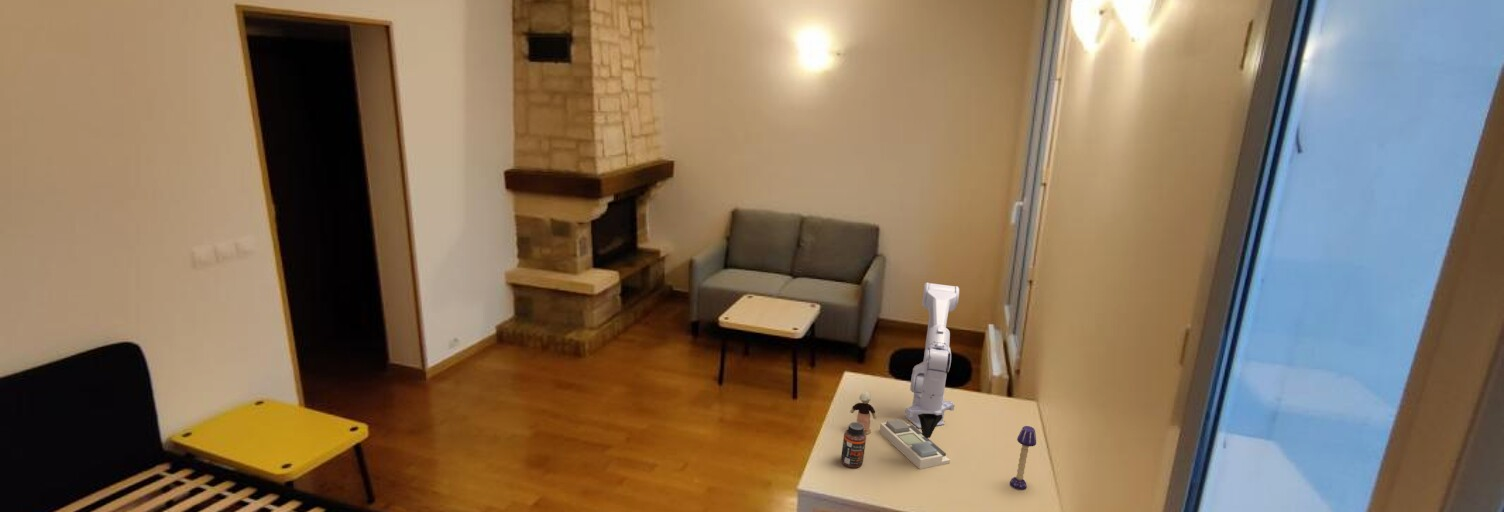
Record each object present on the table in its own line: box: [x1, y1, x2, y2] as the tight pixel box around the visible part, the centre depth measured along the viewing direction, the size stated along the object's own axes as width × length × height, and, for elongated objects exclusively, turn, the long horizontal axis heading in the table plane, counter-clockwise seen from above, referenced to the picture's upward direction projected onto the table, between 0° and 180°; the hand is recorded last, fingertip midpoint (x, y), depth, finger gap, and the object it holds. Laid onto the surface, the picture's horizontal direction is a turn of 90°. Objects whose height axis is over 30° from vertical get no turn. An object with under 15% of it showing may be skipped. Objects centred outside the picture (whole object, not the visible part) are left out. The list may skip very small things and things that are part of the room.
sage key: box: [898, 434, 921, 446], centre depth 200 cm, size 5×5×1 cm
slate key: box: [912, 441, 937, 457], centre depth 194 cm, size 5×5×1 cm
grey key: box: [886, 418, 910, 434], centre depth 206 cm, size 5×5×1 cm
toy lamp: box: [1009, 425, 1037, 490], centre depth 184 cm, size 5×5×17 cm
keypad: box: [879, 421, 951, 470], centre depth 201 cm, size 10×20×3 cm, turn 23°
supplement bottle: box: [840, 421, 867, 469], centre depth 190 cm, size 6×6×11 cm
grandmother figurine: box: [849, 390, 878, 435], centre depth 206 cm, size 8×4×13 cm, turn 84°
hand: (926, 436), depth 193 cm, fingers closed
